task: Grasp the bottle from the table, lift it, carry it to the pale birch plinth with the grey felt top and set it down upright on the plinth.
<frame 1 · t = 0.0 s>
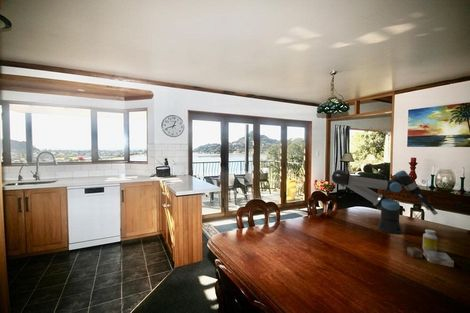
hand: (432, 211, 163), 15 cm above the table, tool tilted 35°, fingers open, 13 cm apart
plinth: (437, 260, 120), on the table
supplement bottle: (429, 251, 131), on the table
walnut block: (414, 255, 126), on the table
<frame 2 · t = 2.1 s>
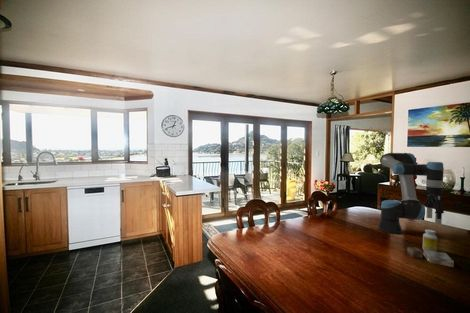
hand: (433, 220, 131), 19 cm above the table, tool pointing down, fingers open, 13 cm apart
nothing on the table moved.
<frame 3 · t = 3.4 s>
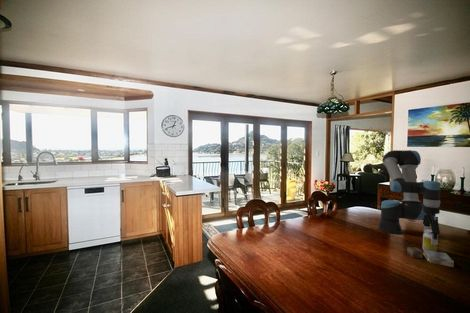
hand: (430, 240, 131), 7 cm above the table, tool pointing down, fingers open, 13 cm apart
nothing on the table moved.
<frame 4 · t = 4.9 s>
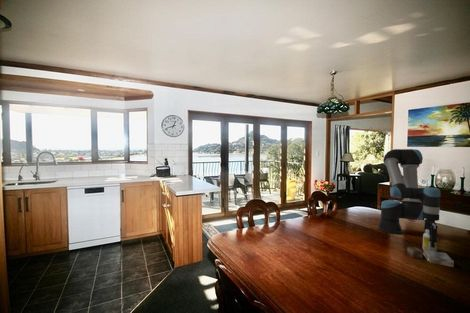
hand: (429, 249, 131), 1 cm above the table, tool pointing down, fingers closed on supplement bottle, 7 cm apart
supplement bottle: (429, 251, 131), on the table, touching gripper
everything else where it was.
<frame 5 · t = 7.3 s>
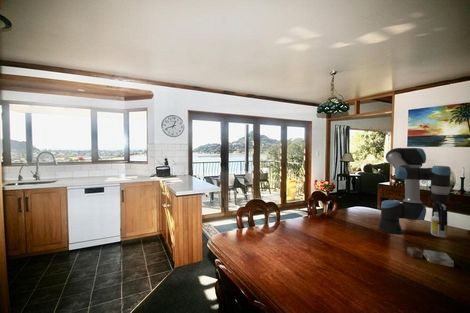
hand: (438, 233, 119), 15 cm above the table, tool pointing down, fingers closed on supplement bottle, 7 cm apart
supplement bottle: (438, 235, 120), point 14 cm above the table, touching gripper
everything else where it was.
when the fingers open (6 cm above the table, at t = 9.6 s): supplement bottle drops 1 cm, resting on plinth.
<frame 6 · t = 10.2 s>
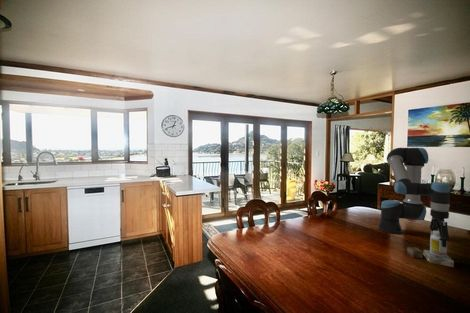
hand: (438, 247, 120), 8 cm above the table, tool pointing down, fingers open, 13 cm apart
supplement bottle: (437, 254, 120), point 3 cm above the table, touching plinth
everything else where it was.
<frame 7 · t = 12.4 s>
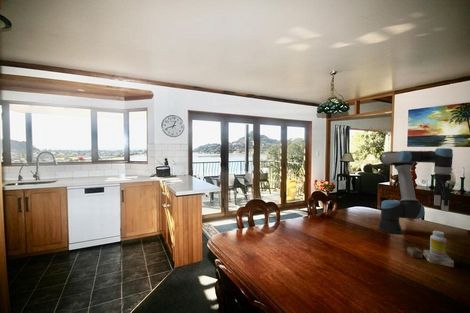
hand: (440, 208, 130), 27 cm above the table, tool pointing down, fingers open, 13 cm apart
nothing on the table moved.
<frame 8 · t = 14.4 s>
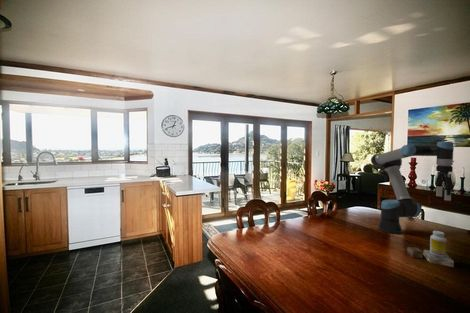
hand: (443, 198, 137), 32 cm above the table, tool pointing down, fingers open, 13 cm apart
nothing on the table moved.
at the end: supplement bottle 0.3 cm from the plinth (horizontally); supplement bottle point 3.2 cm above the table; supplement bottle tilted 0° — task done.
